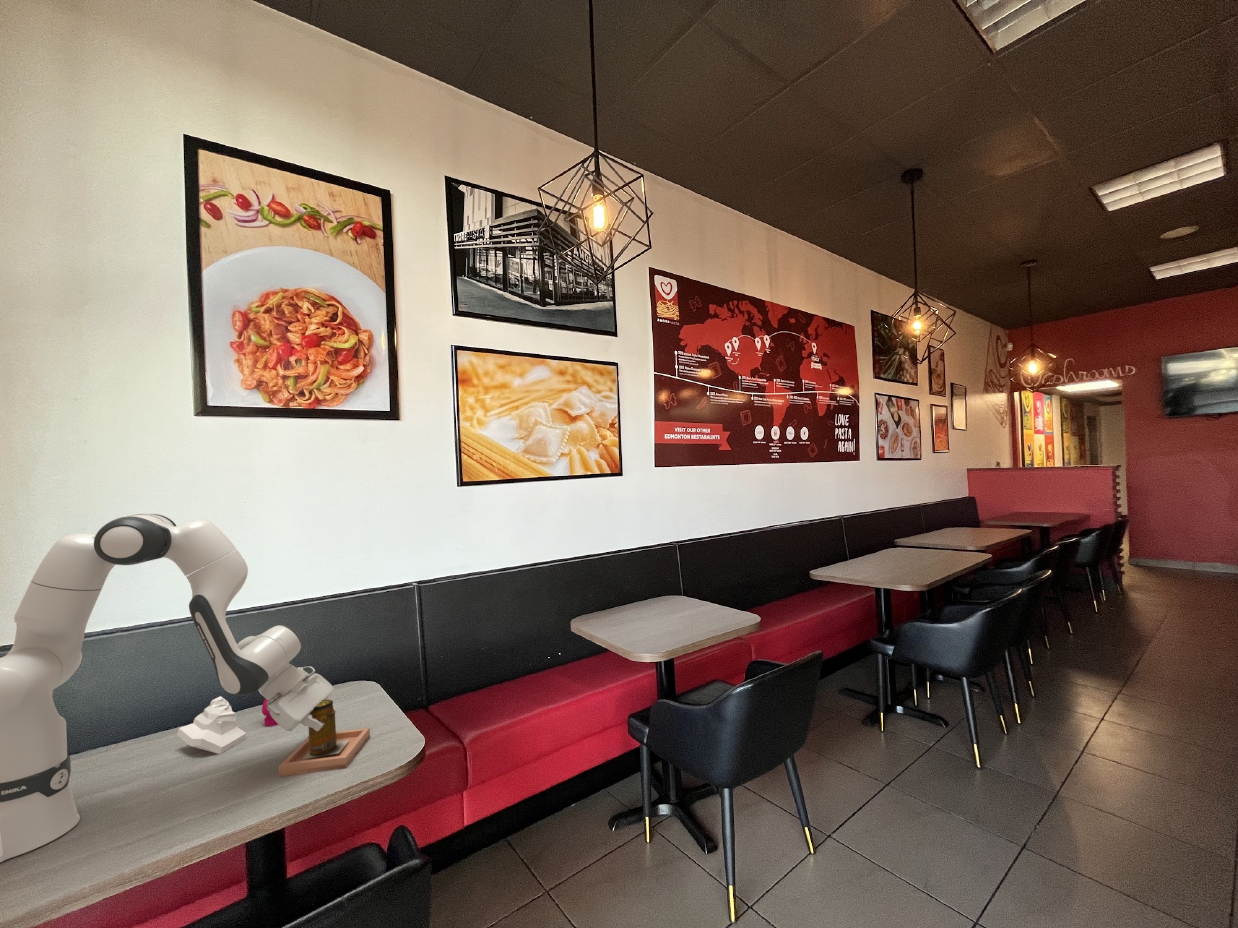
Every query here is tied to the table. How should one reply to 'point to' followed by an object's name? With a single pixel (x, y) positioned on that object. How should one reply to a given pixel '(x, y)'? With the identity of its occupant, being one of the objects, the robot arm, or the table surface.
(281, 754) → the table surface
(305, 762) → the tray
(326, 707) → the condiment
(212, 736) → the white stepped rock sculpture
